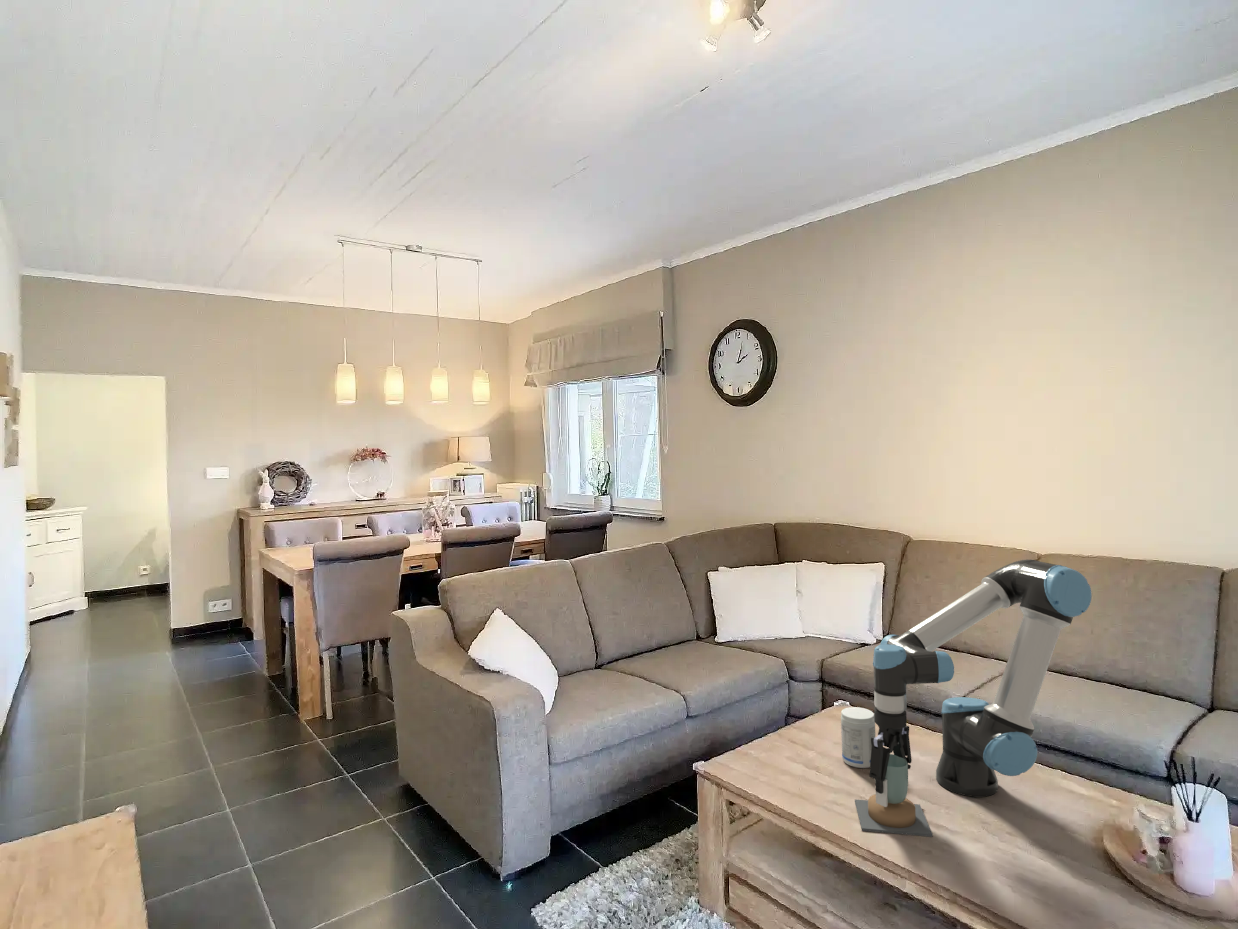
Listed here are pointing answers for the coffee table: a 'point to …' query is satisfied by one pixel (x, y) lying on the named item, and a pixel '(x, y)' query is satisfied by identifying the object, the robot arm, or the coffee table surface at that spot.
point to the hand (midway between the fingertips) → (891, 798)
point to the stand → (892, 817)
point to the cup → (897, 779)
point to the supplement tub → (857, 736)
